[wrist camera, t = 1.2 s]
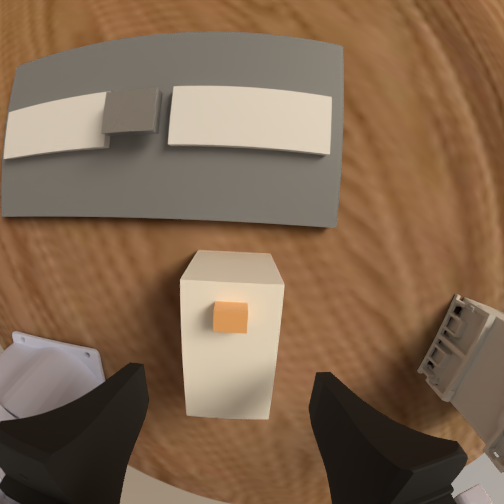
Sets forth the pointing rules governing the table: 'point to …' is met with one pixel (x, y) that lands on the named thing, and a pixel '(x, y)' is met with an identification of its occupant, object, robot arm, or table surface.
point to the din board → (181, 131)
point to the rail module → (230, 333)
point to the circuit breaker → (472, 370)
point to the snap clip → (132, 112)
